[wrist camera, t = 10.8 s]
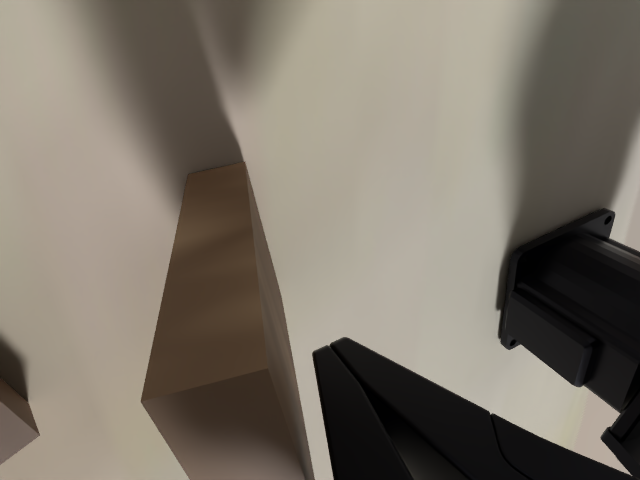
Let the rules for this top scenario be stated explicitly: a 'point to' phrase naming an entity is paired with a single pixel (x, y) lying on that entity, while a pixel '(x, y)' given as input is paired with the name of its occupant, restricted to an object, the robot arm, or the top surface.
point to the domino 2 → (225, 343)
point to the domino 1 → (14, 422)
